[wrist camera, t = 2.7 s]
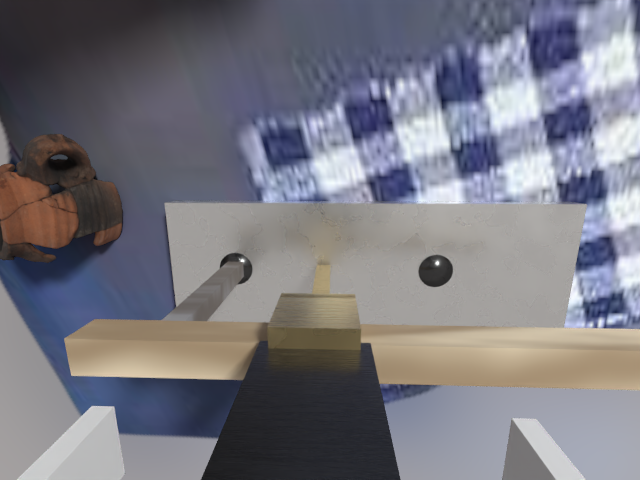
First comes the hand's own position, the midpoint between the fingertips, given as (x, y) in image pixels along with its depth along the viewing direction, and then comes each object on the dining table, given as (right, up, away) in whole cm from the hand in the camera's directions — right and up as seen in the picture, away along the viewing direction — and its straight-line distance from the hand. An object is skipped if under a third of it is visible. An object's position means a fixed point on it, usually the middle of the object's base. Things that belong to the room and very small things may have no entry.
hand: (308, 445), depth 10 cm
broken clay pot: (-23, +11, +20) cm, 32 cm away
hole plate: (+5, +5, +20) cm, 21 cm away
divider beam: (+5, +4, +18) cm, 19 cm away
